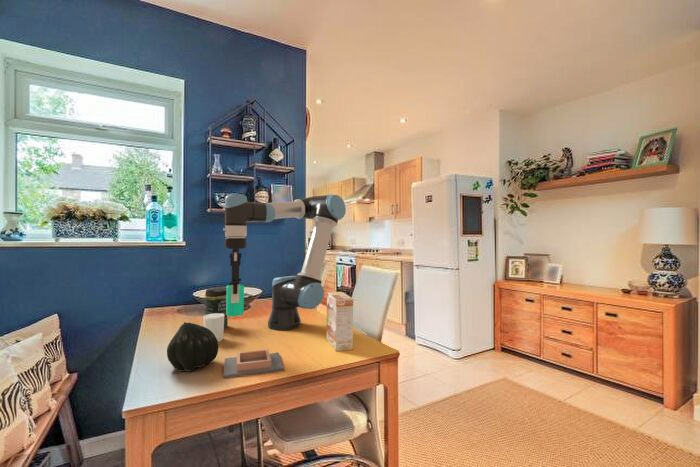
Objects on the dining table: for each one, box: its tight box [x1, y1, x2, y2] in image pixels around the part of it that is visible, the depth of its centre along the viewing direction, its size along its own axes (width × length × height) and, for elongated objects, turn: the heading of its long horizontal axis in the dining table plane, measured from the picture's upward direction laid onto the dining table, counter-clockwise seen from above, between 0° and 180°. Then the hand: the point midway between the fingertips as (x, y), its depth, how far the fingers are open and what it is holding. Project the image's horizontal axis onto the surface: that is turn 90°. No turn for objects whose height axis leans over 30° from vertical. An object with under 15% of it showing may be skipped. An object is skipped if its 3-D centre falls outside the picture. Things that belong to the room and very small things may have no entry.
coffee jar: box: [204, 286, 229, 329], centre depth 150 cm, size 10×8×19 cm
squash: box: [166, 321, 219, 372], centre depth 107 cm, size 14×15×15 cm
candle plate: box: [222, 348, 285, 379], centre depth 108 cm, size 18×14×3 cm
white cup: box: [202, 313, 225, 343], centre depth 133 cm, size 8×8×10 cm
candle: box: [226, 284, 245, 317], centre depth 120 cm, size 6×6×12 cm
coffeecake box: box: [325, 291, 354, 352], centre depth 130 cm, size 15×7×20 cm, turn 18°
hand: (235, 300), depth 120 cm, fingers closed on candle, 6 cm apart
